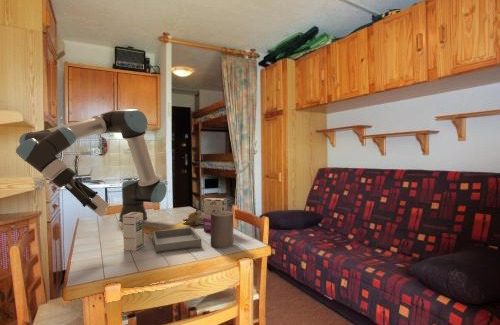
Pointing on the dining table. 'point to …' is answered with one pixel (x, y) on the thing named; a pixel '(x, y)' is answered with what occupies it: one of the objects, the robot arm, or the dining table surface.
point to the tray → (176, 240)
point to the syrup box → (133, 231)
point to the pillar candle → (221, 229)
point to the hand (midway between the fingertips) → (105, 210)
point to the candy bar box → (212, 210)
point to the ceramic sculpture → (194, 218)
